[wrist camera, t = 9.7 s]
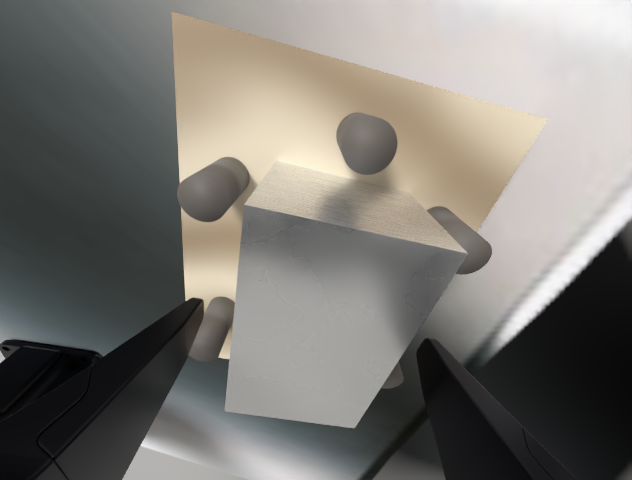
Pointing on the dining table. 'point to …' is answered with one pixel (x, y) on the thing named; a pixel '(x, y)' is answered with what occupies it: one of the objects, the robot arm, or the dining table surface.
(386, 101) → the pin tray
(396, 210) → the block
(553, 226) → the dining table surface
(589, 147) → the dining table surface
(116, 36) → the dining table surface
